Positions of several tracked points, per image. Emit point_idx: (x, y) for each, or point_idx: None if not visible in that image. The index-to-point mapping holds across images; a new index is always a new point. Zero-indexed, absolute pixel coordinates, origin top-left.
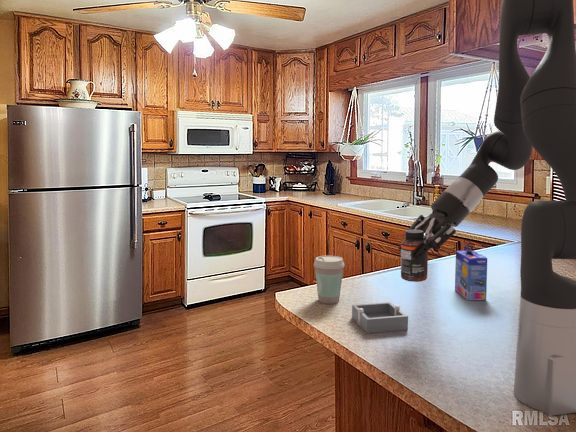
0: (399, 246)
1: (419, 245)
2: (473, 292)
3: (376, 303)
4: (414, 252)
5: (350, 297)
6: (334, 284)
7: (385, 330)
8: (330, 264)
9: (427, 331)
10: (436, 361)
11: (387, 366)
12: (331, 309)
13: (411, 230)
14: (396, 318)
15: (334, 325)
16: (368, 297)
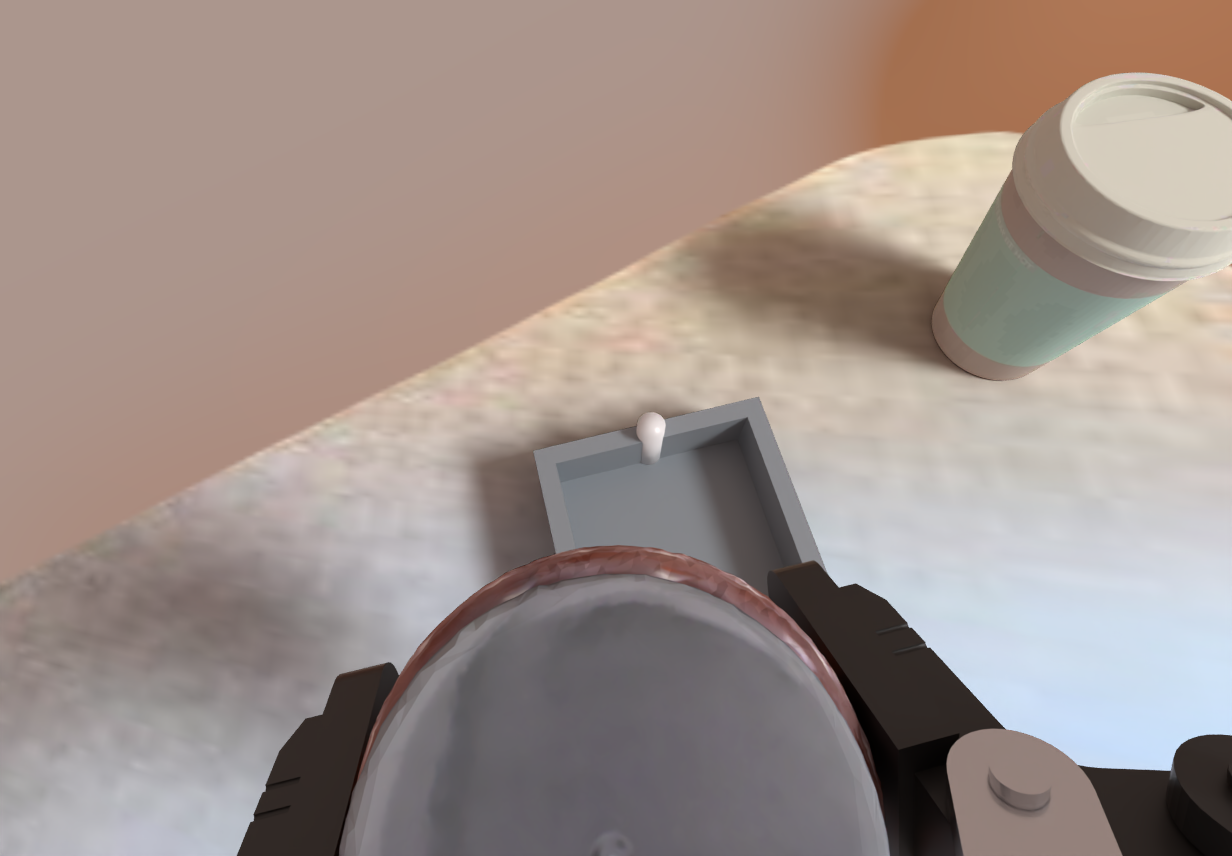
0: (818, 573)
1: (297, 843)
2: None
3: (805, 535)
4: (329, 721)
5: (1076, 443)
6: (989, 290)
7: None
8: (1048, 167)
9: None
10: (195, 768)
11: (196, 522)
12: (848, 340)
13: (693, 758)
14: None
15: (635, 345)
16: (1114, 549)
